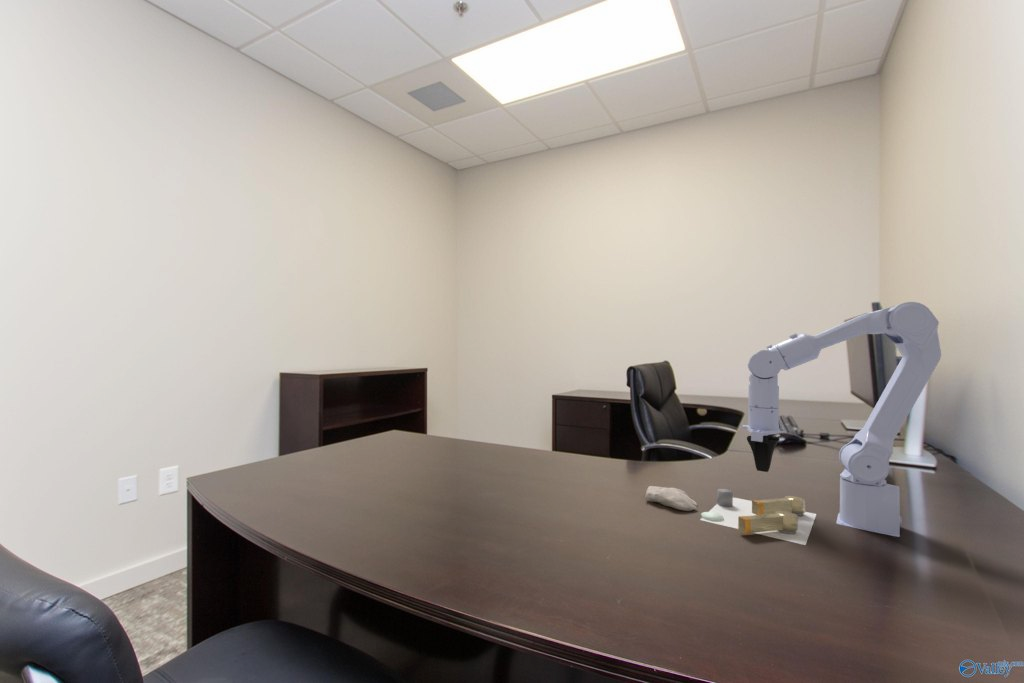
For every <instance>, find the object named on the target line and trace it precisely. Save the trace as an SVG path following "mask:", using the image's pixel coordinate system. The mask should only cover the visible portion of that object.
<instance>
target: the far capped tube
mask: <svg viewBox="0 0 1024 683" xmlns="http://www.w3.org/2000/svg"><path fill="white" fill-rule="evenodd" d="M751 501H752V513H753V514H756V515H764V514H775V512H776V511H787V512H793V513H799V514H802V513H805V512H806V499H804V498H803V497H800V496H795V495H794V496H793V495H785V496H784V497H781V498H770V499H753V500H751Z"/></svg>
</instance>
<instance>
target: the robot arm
mask: <svg viewBox="0 0 1024 683" xmlns="http://www.w3.org/2000/svg"><path fill="white" fill-rule="evenodd" d="M939 323H940V321H939V319H938V318H937V317H936V316H935V315H934V313H933V312H932V311H931V310H930V308H929V307H927V306H926V305H925V304H923V303H920V302H916V301H906V302H902V303H899V304H898V305H896V306H895V305H894V306H893V305H892V306H889V307H886V308H883V309H878V310H874V311H872V312H871V311H870V312H868V313H865V314H862V315H861V314H860V315H859V316H856V317H854V318H852V319H851V318H850V319H849V320H846V321H845V322H842V323H840V324H838V325H835V326H833V327H830V328H829V329H827V330H824V331H822V332H820V333H818V334H817V333H816V334H815V335H811V334H807V333H800V334H797V333H793V334H791V335H789V336H788V337H789V338H788V339H785V340H783V341H781V342H778V343H776V344H774V345H772V344H768V345H767V346H766V349H767V350H766V349H761V350H758V351H757V352H755V353H753V354H752V355H751V356H750V358H749V360H748V363H747V368H748V370H749V372H750V373H749V376H748V378H749V379H748V381H749V383H748V400H747V401H748V402H747V404H748V408H747V409H748V413H747V414H748V417H747V418H748V419H747V421H748V422H747V425H746V424H743V425H741V429H742V430H747V431H748V432H749V433H750V434H751V435H747V436H746V440H747V444H748V445H749V446H750V449H751V452H752V455H753V460H754V465H755V469H756V471H759V472H765V473H769V471H770V468H771V463H772V459H773V455H774V452H775V448H776V446H777V445H778V444H779V441H780V437H778V436H770V435H776V434H780V432H781V431H780V430H781V429H780V427H779V426H780V425H779V422H780V421H779V420H780V418H779V416H780V415H779V413H780V408H779V406H780V404H779V403H780V386H779V382H778V381H779V379H778V377H779V373H780V372H781V370H784V371H789V370H791V369H793V368H795V367H798V366H802V365H803V364H804V365H805V364H806V363H809V362H811V361H814V360H816V359H818V358H819V355H820V352H821V351H822V350H824V349H826V348H828V347H832V346H834V345H836V344H840V343H843V342H845V341H848V340H850V339H853V338H856V337H858V336H861V335H863V334H865V335H880V334H883V335H884V336H885V337H886V338H888V340H890V341H891V342H893V344H894V345H895V348H896V349H897V351H898V352H899V353H900V355H901V359H900V360H899V363H898V365H897V366H896V368H895V369H894V371H893V374H892V375H891V377H890V378H889V380H888V382H887V384H886V386H885V388H884V389H883V391H882V393H881V395H880V396H879V399H878V401H877V402H876V404H875V406H874V407H873V409H872V411H871V413H870V415H869V416H868V418H867V420H866V422H865V424H864V425H863V427H862V428H861V429H860V430H859V431H858V432H857V433H855V435H854V436H853V438H852V439H851V440H850V441H849V442H848V443H846V444H845V445H843V446H842V447H841V448H840V450H839V451H838V453H839V454H838V460H839V462H840V463H841V465H842V466H843V467H844V469H843V471H842V472H841V473H840V474H839V478H840V479H839V512H838V513H837V518H836V523H835V524H836V525H839V526H844V527H847V528H853V529H859V530H863V531H868V532H872V533H877V534H882V535H888V536H892V537H898V538H899V537H901V535H900V534H901V533H900V530H901V528H900V527H902V522H903V520H902V518H903V517H902V516H901V504H900V503H901V501H900V500H901V496H900V495H901V491H900V490H901V489H900V486H898V485H894V484H890V483H887V479H886V478H887V477H888V476H889V472H890V459H891V457H892V455H893V453H894V440H896V438H897V435H898V434H899V433H900V430H901V428H902V427H903V425H904V424H905V421H906V420H907V418H908V416H909V415H910V413H911V411H912V410H913V407H914V406H915V404H916V403H917V400H918V399H919V398H920V395H921V393H922V392H923V390H924V388H925V387H926V385H927V383H928V381H929V380H930V379H931V377H932V375H933V372H934V371H935V369H936V367H937V366H938V364H939V363H940V360H941V358H942V350H941V344H940V338H939V333H938V328H939Z"/></svg>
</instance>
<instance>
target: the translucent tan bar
mask: <svg viewBox="0 0 1024 683" xmlns="http://www.w3.org/2000/svg"><path fill="white" fill-rule="evenodd" d="M737 530H738V532H741V533H743V534H744V535H749V534H756V532H766V531H775V530H786V531H797V530H798V516H797V515H796V514H794V513H791V512H787V511H776V512H775V514H764V515H753V516H738V529H737Z"/></svg>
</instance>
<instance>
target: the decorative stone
mask: <svg viewBox="0 0 1024 683" xmlns="http://www.w3.org/2000/svg"><path fill="white" fill-rule="evenodd" d="M645 491H646V492H645V495H644V496H645V499H646V500H647V501H649V502H652V503H658V504H660V505H663V506H665V507H671V508H673V509H676V510H679V511H684V512H691V511H694V510H696V509H698V507H697V506H698V504H697V502H696V501H695V500H694V499H691V498H690V497H689V494H687V493H686V491H684V490H682V489H679V488H676V487H664V486H663V487H662V486H654V485H649V486H648V487H647V489H646V490H645Z"/></svg>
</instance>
